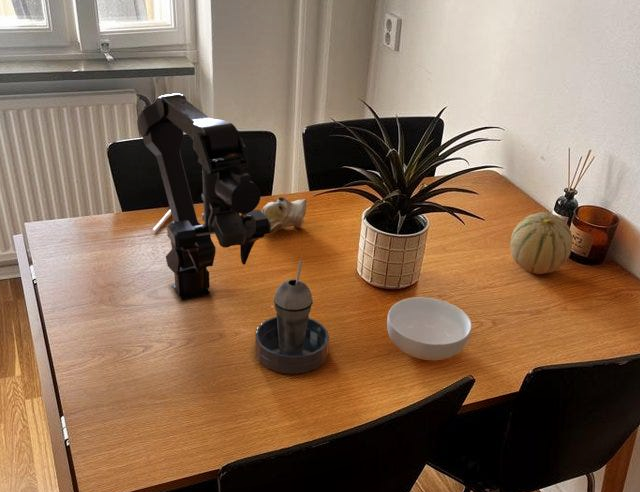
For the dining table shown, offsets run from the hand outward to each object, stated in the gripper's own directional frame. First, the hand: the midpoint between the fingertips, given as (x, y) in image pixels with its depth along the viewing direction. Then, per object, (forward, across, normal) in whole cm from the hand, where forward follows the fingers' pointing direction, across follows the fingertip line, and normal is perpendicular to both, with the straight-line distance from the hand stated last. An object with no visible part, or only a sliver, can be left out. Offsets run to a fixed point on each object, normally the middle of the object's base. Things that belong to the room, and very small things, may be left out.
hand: (221, 267), depth 137 cm
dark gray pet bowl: (+13, +9, -15) cm, 22 cm away
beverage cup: (+13, +9, -14) cm, 21 cm away
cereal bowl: (+14, +35, -23) cm, 44 cm away
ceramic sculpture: (+13, +28, +36) cm, 48 cm away
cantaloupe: (+13, +79, -5) cm, 80 cm away
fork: (+12, +4, +52) cm, 53 cm away
